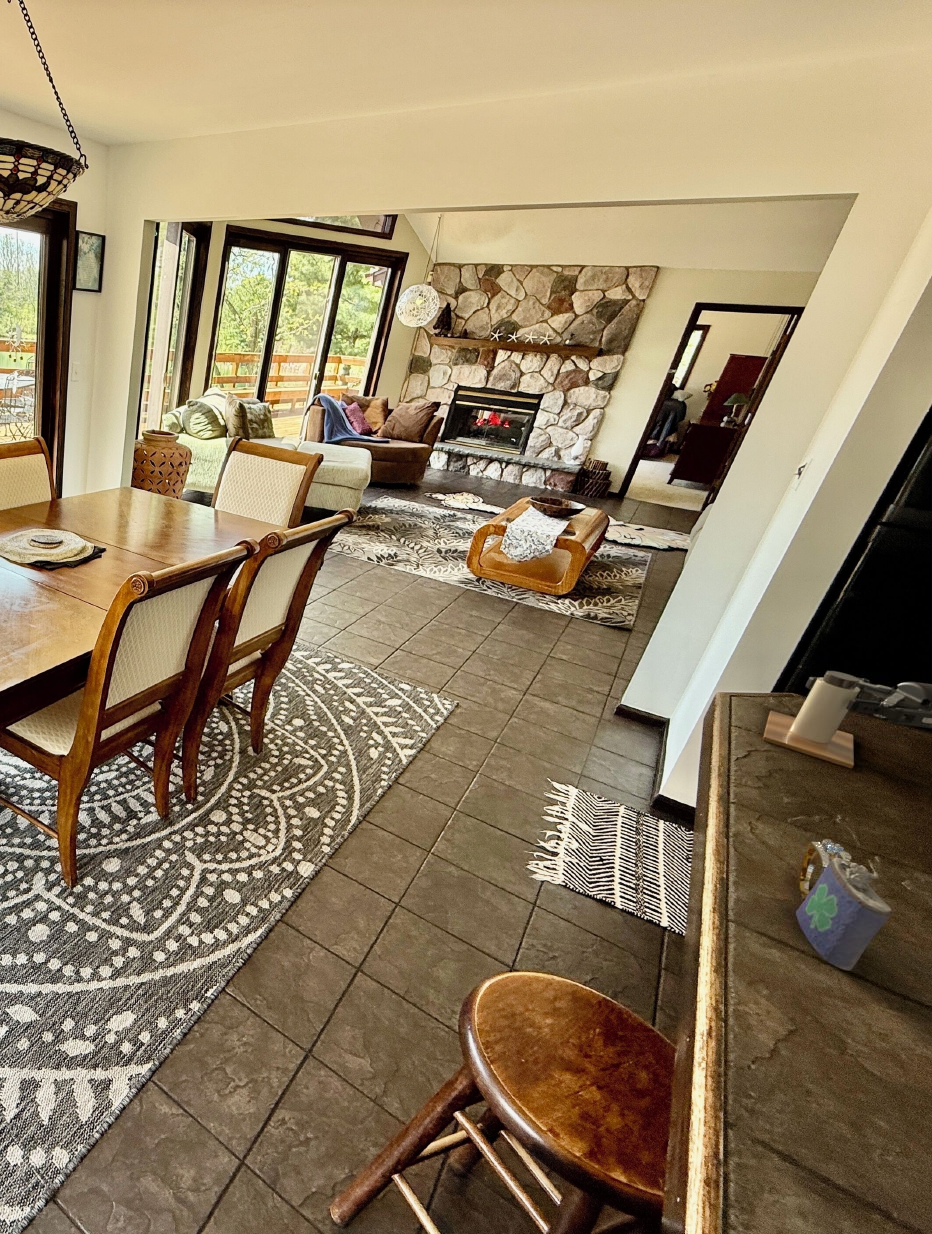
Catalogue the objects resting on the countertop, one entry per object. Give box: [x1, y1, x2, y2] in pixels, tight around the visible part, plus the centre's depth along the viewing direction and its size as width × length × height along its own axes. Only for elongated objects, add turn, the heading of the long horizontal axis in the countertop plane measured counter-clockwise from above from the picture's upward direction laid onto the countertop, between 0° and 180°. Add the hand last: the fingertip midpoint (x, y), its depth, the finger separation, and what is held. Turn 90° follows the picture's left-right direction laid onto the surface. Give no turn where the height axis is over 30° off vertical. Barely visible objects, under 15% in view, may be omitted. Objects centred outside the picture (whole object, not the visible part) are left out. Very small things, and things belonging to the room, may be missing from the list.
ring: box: [797, 838, 852, 900], centre depth 78 cm, size 7×3×8 cm, turn 138°
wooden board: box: [762, 710, 855, 770], centre depth 117 cm, size 16×11×1 cm
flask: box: [795, 857, 893, 971], centre depth 70 cm, size 9×3×11 cm, turn 150°
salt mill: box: [790, 670, 860, 743], centre depth 115 cm, size 5×5×12 cm
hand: (828, 693), depth 114 cm, fingers open, 8 cm apart
